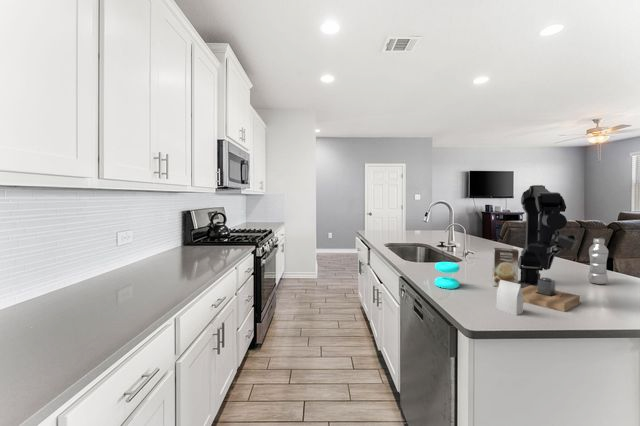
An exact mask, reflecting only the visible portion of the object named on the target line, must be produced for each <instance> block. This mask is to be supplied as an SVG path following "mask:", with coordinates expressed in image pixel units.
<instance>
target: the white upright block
mask: <svg viewBox="0 0 640 426" xmlns="http://www.w3.org/2000/svg"><path fill="white" fill-rule="evenodd" d="M521 289H522V284H521V283H518V282H517V283H512V282H508V281H504V280H500V283H499V287H497V290H496V310H498V309H499V310H498V311H501V310H502V311H501V312H504V311H505V313H508V314H512V315H514V314H515V315H514V316H518V315H521V314H523V313H524V312H523V311H524V306H523V305H524V302H523V293H522V290H521Z"/></svg>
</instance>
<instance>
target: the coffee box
mask: <svg viewBox="0 0 640 426" xmlns="http://www.w3.org/2000/svg"><path fill="white" fill-rule="evenodd" d="M492 252H493V253H492V254H493V257H492V279H491V280H492V281H491V284H492V286H493V287H496V288H498V287H499V283H500V280H504V281H508V282H512V283H517V284H518V282H519V268H518V261H519V257H520V253H519V250H518V248H517V249H515V248H503V247H502V248H501V247H493V251H492Z"/></svg>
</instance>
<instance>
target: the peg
mask: <svg viewBox="0 0 640 426" xmlns="http://www.w3.org/2000/svg"><path fill="white" fill-rule="evenodd" d="M537 287H538V294H541V295H546V296H551V297H552V296H555V291H556V280H554V279H552V278H550V277H540V279H539V280H538V284H537Z"/></svg>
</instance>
